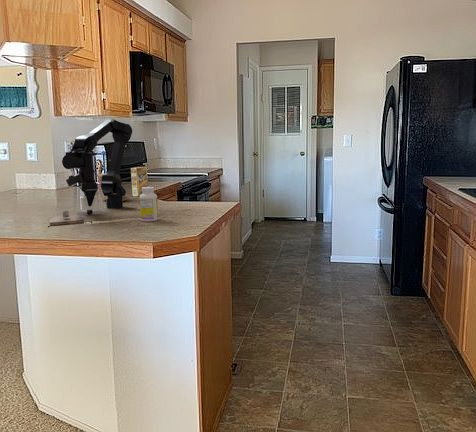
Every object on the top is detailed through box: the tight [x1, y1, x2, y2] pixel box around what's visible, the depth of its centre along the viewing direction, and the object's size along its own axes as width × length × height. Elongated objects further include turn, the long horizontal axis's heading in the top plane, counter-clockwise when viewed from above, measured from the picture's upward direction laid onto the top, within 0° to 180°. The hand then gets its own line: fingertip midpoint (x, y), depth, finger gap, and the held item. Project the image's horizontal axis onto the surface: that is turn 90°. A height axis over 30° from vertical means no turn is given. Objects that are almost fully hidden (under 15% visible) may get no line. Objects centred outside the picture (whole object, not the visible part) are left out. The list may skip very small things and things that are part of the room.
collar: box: [79, 194, 99, 211], centre depth 199 cm, size 6×6×5 cm
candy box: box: [130, 166, 149, 197], centre depth 262 cm, size 9×4×15 cm, turn 150°
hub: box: [48, 209, 85, 227], centre depth 184 cm, size 12×12×5 cm
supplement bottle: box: [139, 186, 159, 223], centre depth 185 cm, size 7×7×13 cm
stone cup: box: [97, 172, 129, 202], centre depth 241 cm, size 15×12×15 cm
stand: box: [76, 209, 104, 217], centre depth 200 cm, size 10×10×4 cm
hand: (89, 205), depth 199 cm, fingers closed on collar, 6 cm apart
